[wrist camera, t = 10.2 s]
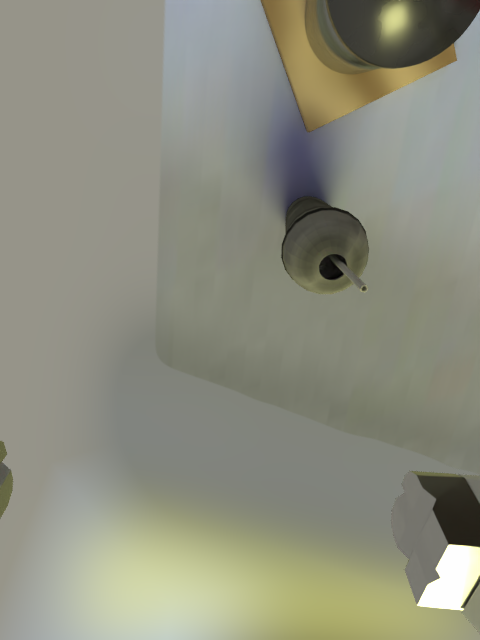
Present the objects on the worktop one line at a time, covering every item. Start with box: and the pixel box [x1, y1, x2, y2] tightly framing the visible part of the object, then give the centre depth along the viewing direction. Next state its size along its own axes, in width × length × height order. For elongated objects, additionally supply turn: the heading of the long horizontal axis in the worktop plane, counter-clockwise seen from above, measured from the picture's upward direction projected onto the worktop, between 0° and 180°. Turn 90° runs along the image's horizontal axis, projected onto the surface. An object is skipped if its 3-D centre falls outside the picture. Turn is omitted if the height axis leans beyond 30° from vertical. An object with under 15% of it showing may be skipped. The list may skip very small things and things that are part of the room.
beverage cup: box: [281, 196, 369, 294], centre depth 36 cm, size 7×7×20 cm
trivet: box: [261, 0, 457, 132], centre depth 36 cm, size 14×14×2 cm
